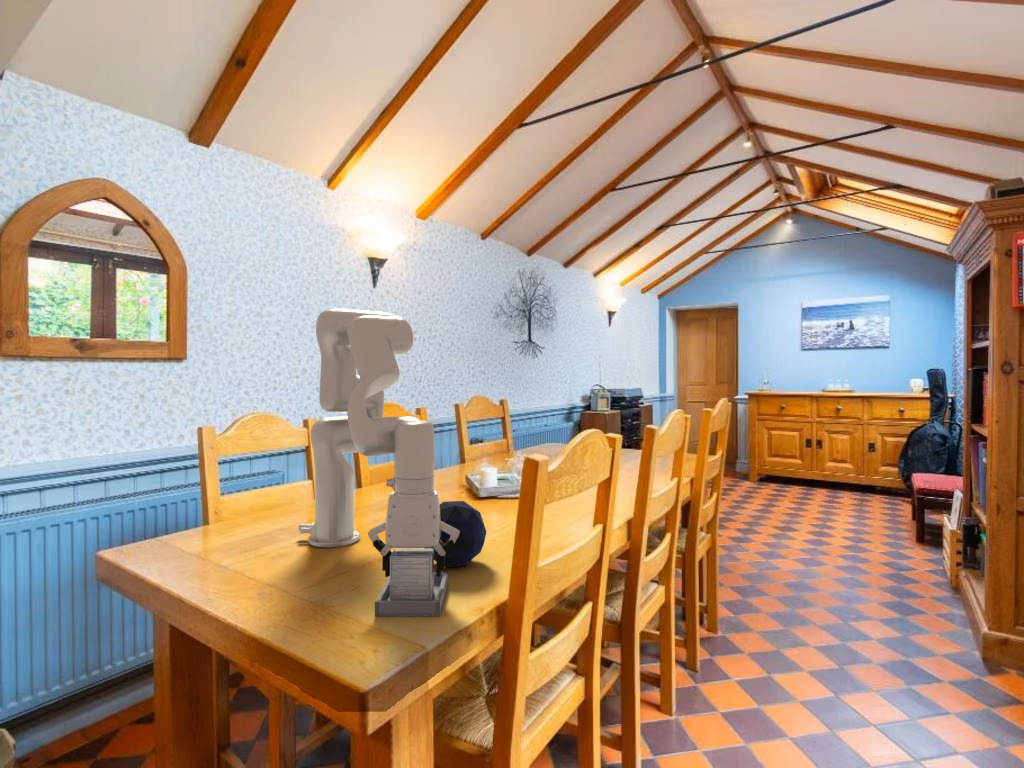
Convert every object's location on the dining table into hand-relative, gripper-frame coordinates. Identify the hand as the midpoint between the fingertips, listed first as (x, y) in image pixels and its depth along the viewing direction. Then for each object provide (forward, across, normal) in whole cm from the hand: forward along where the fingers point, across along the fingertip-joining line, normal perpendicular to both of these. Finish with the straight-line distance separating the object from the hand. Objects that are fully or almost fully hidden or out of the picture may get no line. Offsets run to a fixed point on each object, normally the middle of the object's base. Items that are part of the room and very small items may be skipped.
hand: (413, 574), depth 105 cm
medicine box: (+4, 0, 0) cm, 4 cm away
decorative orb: (+5, +6, +19) cm, 21 cm away
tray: (+5, 0, 0) cm, 5 cm away
